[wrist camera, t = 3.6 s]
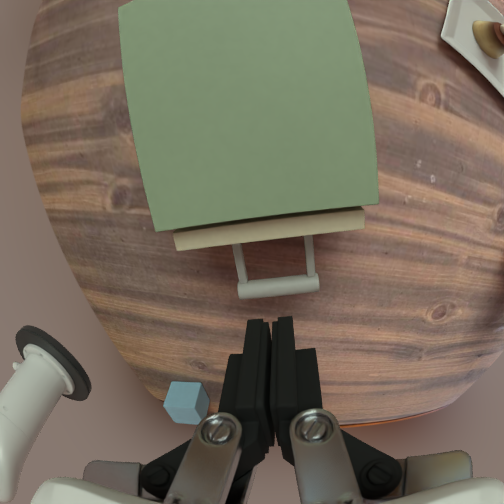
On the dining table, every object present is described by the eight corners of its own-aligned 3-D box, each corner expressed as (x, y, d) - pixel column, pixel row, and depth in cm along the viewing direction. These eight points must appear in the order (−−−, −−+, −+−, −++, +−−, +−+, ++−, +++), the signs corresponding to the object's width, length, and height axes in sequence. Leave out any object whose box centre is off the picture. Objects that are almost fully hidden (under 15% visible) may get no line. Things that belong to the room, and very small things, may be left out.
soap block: (181, 399, 36) (174, 422, 32) (171, 381, 34) (162, 405, 30) (210, 400, 35) (204, 425, 31) (201, 382, 33) (194, 408, 29)
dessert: (510, 112, 16) (539, 115, 12) (434, 39, 15) (462, 28, 10) (521, 43, 11) (545, 40, 7) (450, -25, 10) (471, -38, 5)
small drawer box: (342, 177, 22) (379, 204, 14) (194, 197, 23) (155, 232, 15) (315, 15, 16) (334, -35, 8) (166, 40, 17) (117, 7, 10)
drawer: (342, 263, 24) (362, 308, 18) (216, 277, 25) (199, 324, 19) (316, 39, 16) (333, 5, 10) (173, 62, 18) (135, 41, 11)
